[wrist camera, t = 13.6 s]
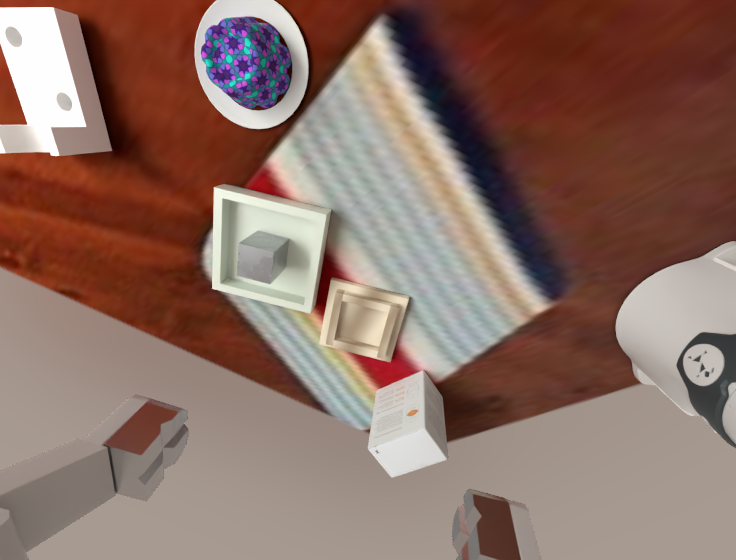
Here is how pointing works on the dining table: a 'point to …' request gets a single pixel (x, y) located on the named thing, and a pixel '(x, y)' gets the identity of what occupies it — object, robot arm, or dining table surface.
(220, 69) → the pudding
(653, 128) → the dining table surface
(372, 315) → the socket holder
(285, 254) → the gray block
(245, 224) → the tray
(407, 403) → the small box
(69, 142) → the bracket
